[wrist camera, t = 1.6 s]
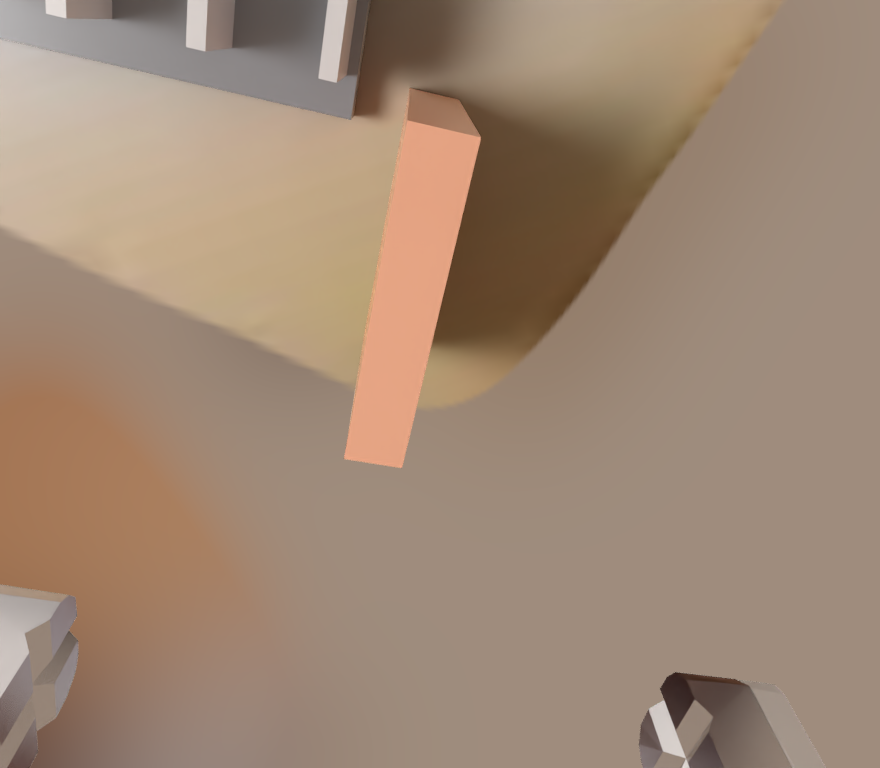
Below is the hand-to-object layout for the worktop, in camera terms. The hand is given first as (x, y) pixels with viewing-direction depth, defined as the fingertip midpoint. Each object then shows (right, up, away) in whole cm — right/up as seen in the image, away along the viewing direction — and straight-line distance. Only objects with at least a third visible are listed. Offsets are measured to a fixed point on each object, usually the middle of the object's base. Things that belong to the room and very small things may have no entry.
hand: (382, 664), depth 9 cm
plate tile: (-1, +11, +20) cm, 22 cm away
